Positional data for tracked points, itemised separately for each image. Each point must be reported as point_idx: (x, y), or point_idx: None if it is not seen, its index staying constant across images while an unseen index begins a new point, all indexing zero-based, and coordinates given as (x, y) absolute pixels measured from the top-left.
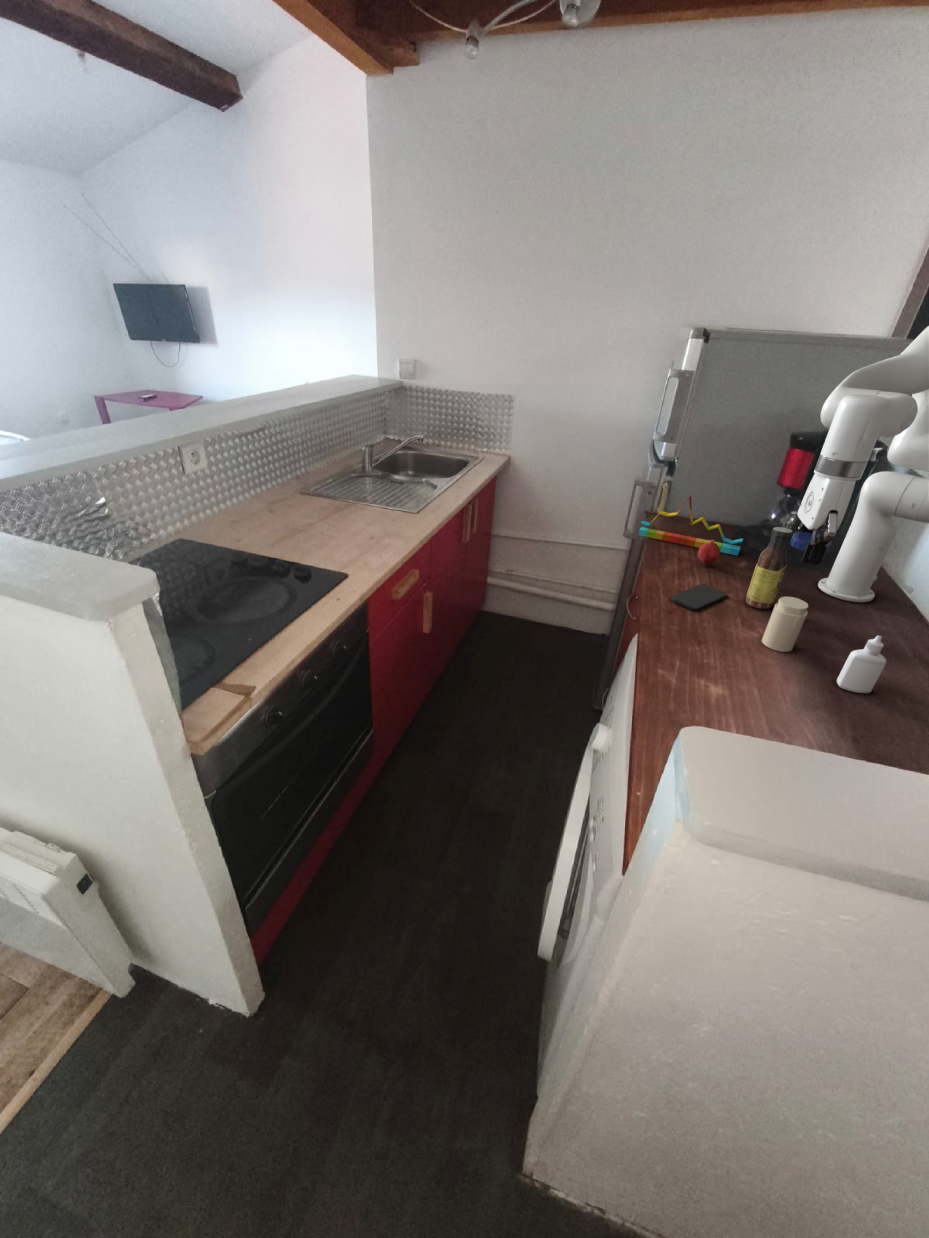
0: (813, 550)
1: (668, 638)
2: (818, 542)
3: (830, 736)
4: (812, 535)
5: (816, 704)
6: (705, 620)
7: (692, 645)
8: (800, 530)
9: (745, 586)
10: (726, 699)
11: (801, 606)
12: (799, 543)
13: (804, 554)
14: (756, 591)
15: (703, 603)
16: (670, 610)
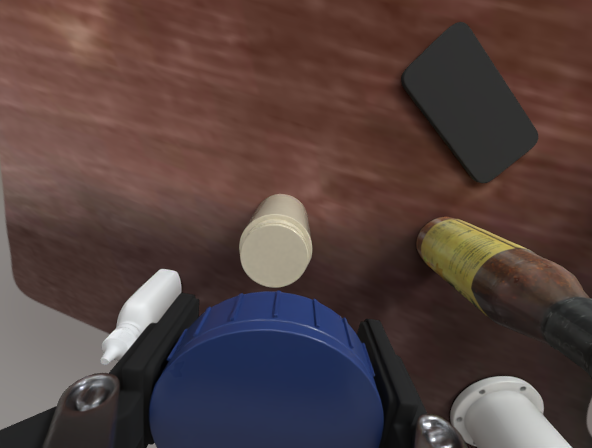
0: (116, 364)
1: None
2: (20, 424)
3: (20, 201)
4: (107, 439)
5: (100, 214)
6: (359, 96)
7: (240, 29)
8: (403, 413)
9: (526, 242)
10: (53, 50)
11: (253, 267)
12: (204, 327)
13: (165, 315)
14: (447, 233)
15: (429, 106)
16: (403, 11)
